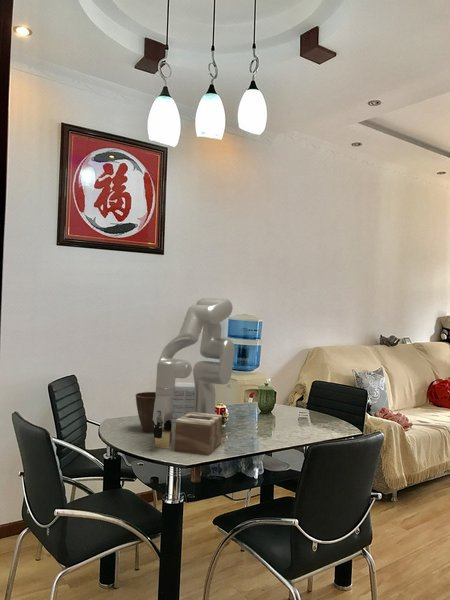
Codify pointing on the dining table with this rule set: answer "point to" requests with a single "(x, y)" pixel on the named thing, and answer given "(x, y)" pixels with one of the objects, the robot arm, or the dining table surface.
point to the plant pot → (146, 410)
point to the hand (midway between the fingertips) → (162, 435)
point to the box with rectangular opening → (198, 433)
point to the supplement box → (183, 399)
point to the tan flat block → (164, 440)
